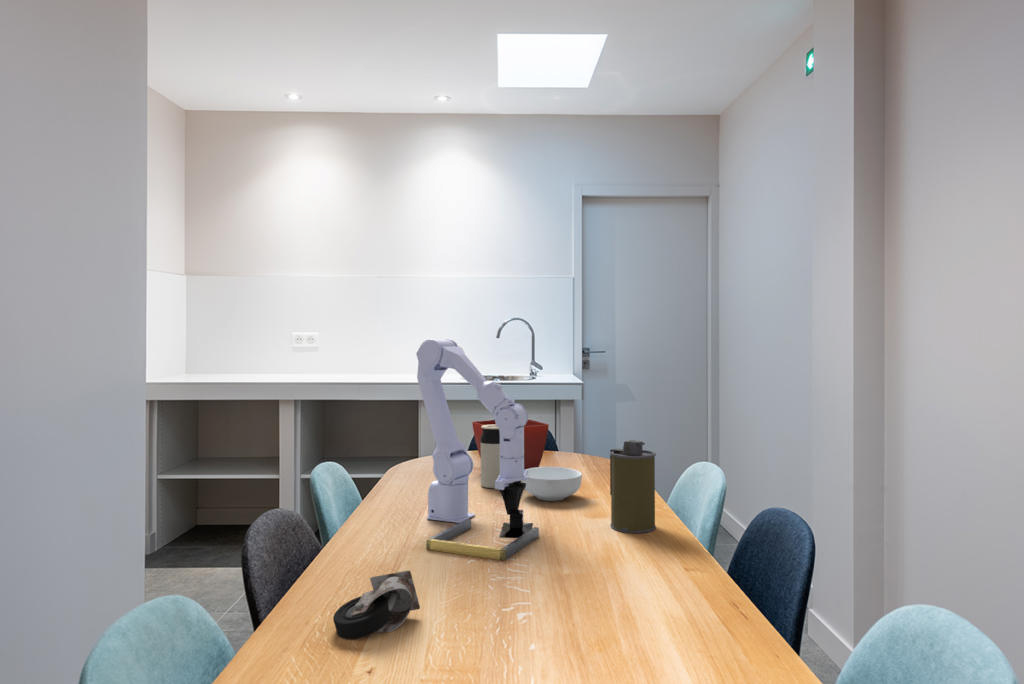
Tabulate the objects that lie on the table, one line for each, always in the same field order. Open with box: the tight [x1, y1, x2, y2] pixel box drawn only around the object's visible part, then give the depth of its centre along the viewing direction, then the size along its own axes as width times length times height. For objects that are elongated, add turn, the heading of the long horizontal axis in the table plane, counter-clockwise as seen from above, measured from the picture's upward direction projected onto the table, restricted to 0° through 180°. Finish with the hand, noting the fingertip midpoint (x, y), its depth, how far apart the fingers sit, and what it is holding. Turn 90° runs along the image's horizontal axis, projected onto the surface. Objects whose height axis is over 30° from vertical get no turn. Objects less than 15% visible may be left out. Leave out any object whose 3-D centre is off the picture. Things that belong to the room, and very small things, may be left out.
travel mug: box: [480, 424, 500, 489], centre depth 203 cm, size 8×8×18 cm
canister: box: [609, 439, 657, 534], centre depth 158 cm, size 11×10×20 cm
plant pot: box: [471, 419, 549, 470], centre depth 220 cm, size 19×19×17 cm
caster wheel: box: [332, 570, 421, 640], centre depth 103 cm, size 7×11×10 cm
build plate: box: [498, 509, 534, 539], centre depth 156 cm, size 12×7×5 cm, turn 176°
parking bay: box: [425, 518, 540, 562], centre depth 146 cm, size 18×18×2 cm
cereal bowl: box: [520, 466, 583, 502], centre depth 188 cm, size 17×17×7 cm
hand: (512, 514), depth 159 cm, fingers closed
